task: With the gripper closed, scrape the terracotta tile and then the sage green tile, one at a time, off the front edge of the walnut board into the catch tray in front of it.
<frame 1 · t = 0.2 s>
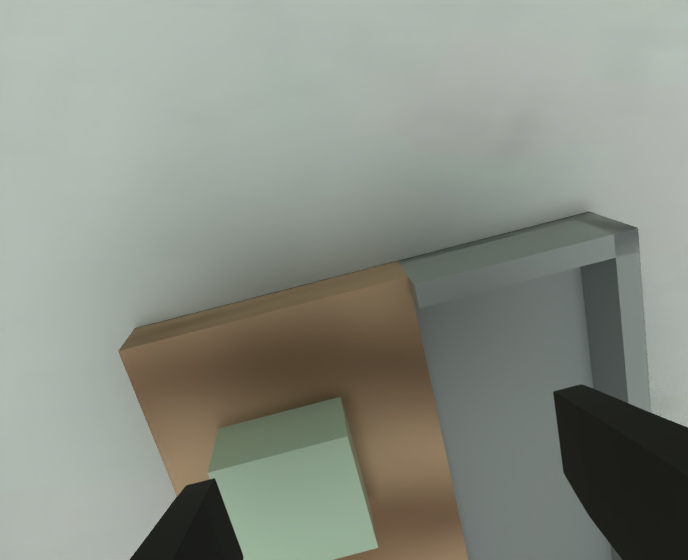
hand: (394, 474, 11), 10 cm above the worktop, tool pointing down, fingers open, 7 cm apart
walnut board: (331, 509, 23), on the worktop
sage tile: (295, 464, 20), point 2 cm above the worktop, touching walnut board
catch tray: (528, 458, 23), on the worktop
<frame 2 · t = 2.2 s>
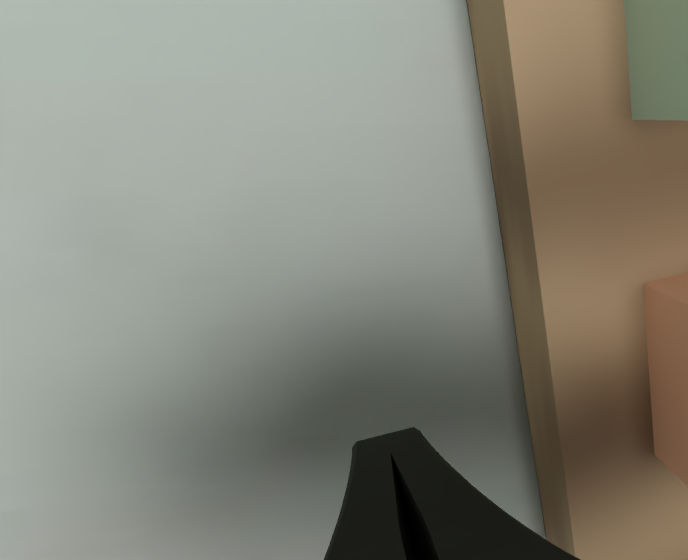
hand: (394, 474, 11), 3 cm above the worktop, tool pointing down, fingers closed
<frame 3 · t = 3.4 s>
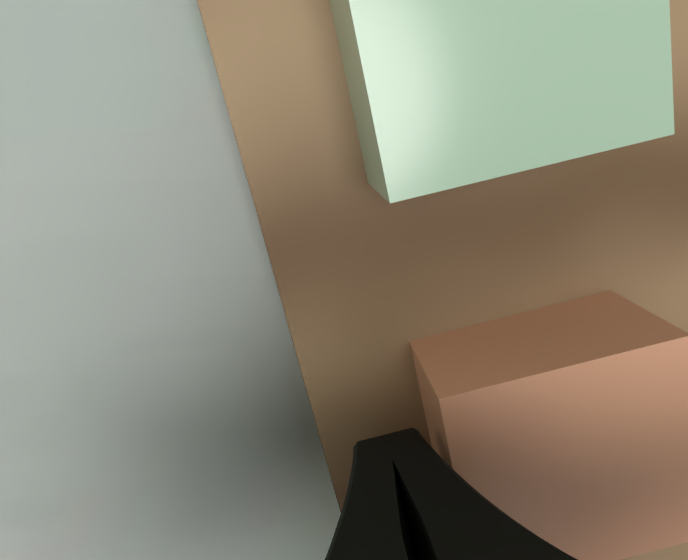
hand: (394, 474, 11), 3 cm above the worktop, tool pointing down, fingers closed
walnut board: (483, 217, 13), on the worktop
terracotta tile: (523, 405, 12), point 2 cm above the worktop, touching gripper, walnut board
sage tile: (461, 34, 10), point 2 cm above the worktop, touching walnut board
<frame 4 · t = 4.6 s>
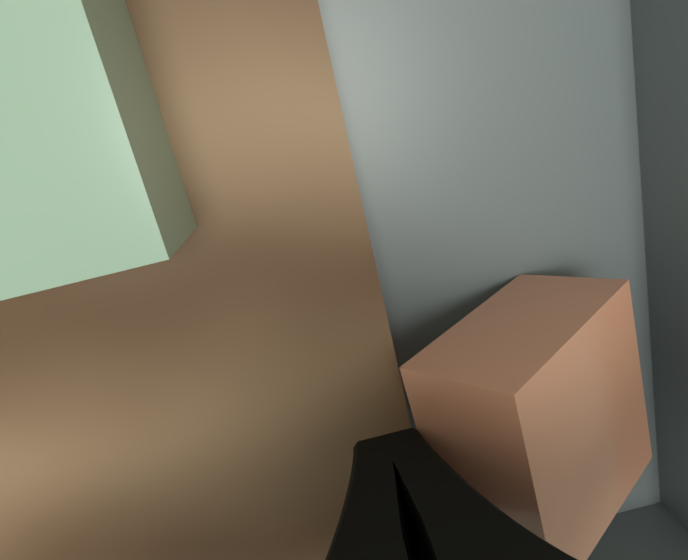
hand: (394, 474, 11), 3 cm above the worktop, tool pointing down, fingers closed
walnut board: (162, 298, 13), on the worktop
terracotta tile: (486, 403, 13), point 2 cm above the worktop, tilted 37°, touching gripper
sage tile: (38, 138, 10), point 2 cm above the worktop, touching walnut board
catch tray: (513, 211, 13), on the worktop
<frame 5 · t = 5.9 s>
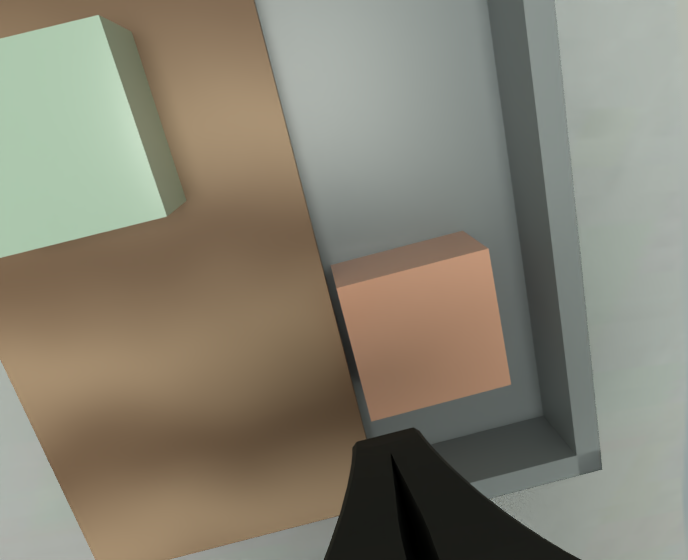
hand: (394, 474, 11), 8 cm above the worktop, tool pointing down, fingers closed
walnut board: (162, 256, 18), on the worktop
terracotta tile: (410, 309, 19), resting on catch tray
sage tile: (79, 139, 15), point 2 cm above the worktop, touching walnut board
catch tray: (419, 192, 18), on the worktop
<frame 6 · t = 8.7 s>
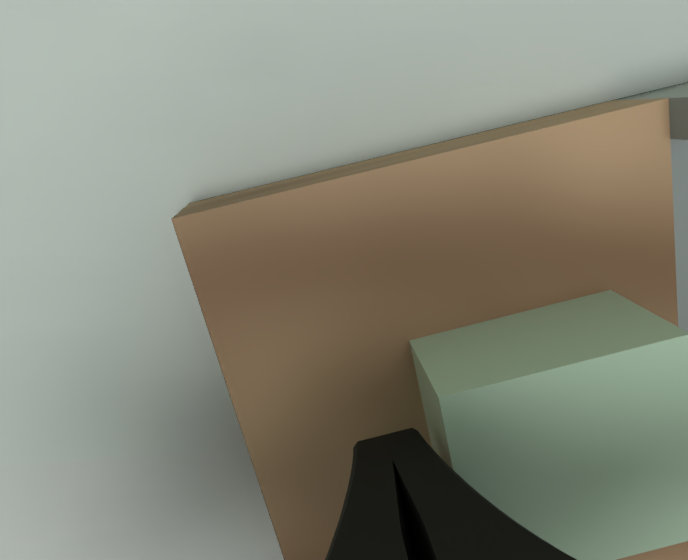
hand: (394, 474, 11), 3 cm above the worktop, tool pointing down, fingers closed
walnut board: (469, 501, 16), on the worktop
sage tile: (523, 404, 12), point 2 cm above the worktop, touching gripper, walnut board
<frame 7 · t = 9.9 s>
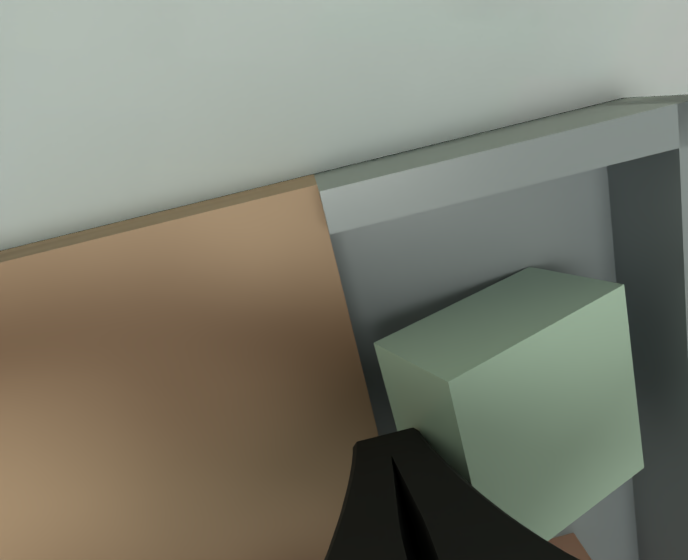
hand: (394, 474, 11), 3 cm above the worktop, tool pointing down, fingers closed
sage tile: (475, 388, 13), point 1 cm above the worktop, tilted 23°
catch tray: (524, 487, 16), on the worktop
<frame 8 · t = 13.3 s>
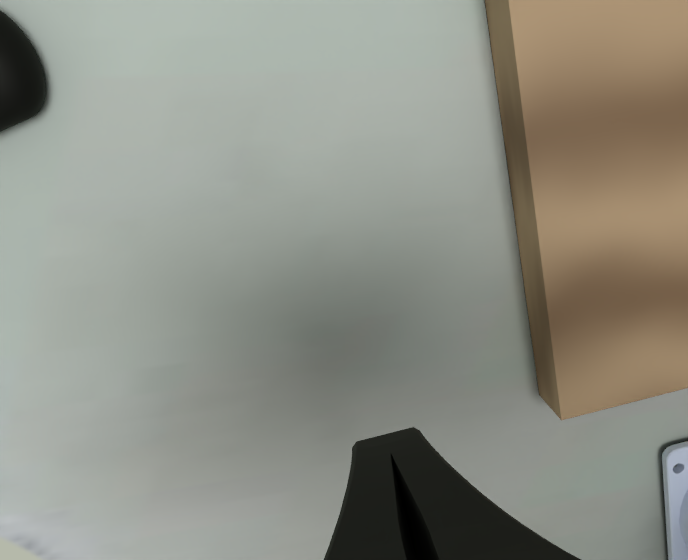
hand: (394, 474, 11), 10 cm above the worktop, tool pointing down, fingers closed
walnut board: (637, 128, 20), on the worktop
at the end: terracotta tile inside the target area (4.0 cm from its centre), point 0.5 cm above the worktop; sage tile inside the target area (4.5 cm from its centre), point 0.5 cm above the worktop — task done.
